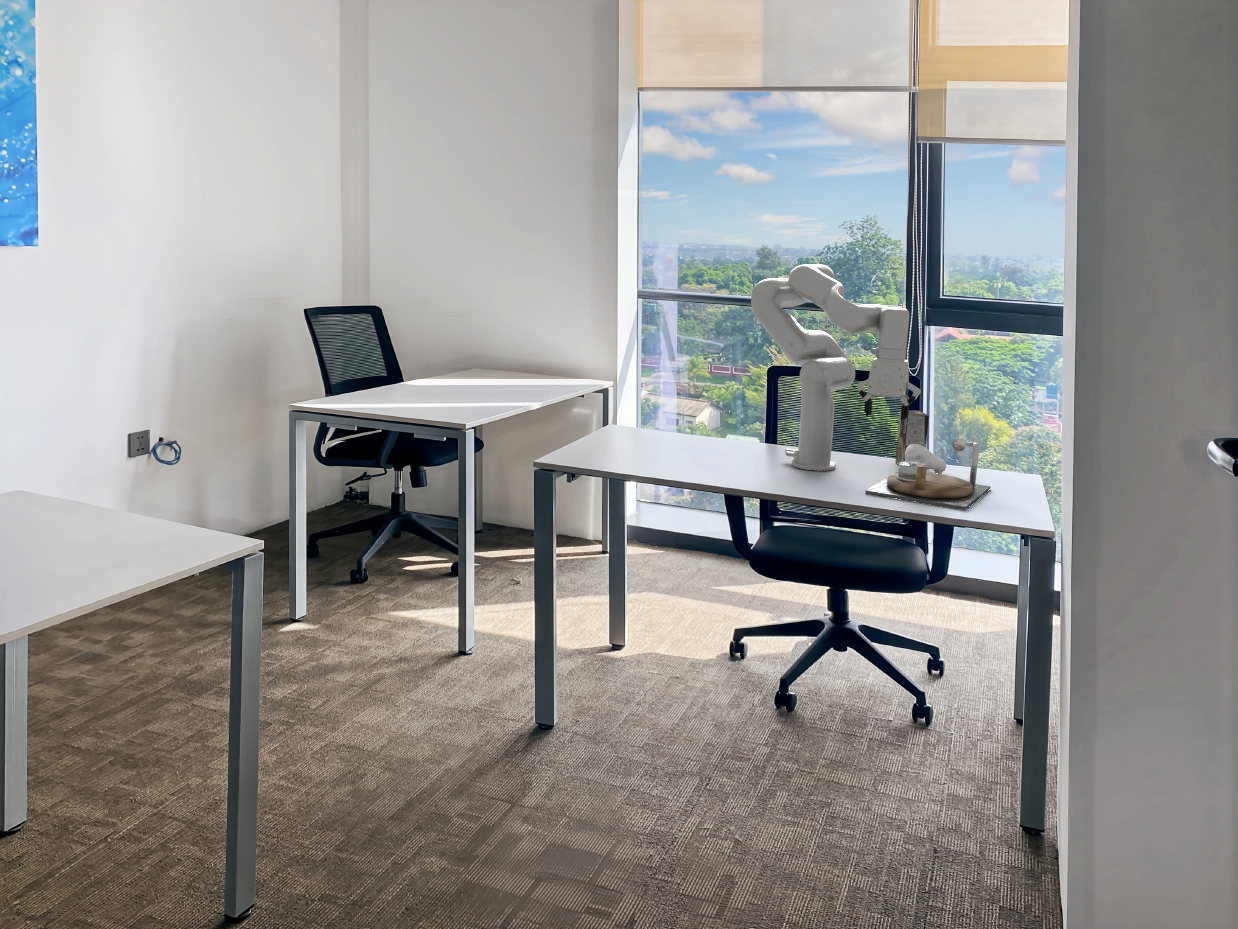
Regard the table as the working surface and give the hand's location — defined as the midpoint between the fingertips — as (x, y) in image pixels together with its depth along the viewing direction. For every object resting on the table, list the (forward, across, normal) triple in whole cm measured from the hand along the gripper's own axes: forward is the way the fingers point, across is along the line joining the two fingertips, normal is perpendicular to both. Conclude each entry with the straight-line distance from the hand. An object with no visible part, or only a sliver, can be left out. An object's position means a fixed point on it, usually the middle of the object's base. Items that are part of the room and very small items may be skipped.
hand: (885, 417), depth 282 cm
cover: (+16, +9, -1) cm, 18 cm away
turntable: (+17, +14, -1) cm, 22 cm away
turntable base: (+18, +14, -1) cm, 23 cm away
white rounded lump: (+19, +7, +19) cm, 28 cm away
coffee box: (+19, +1, +26) cm, 32 cm away
